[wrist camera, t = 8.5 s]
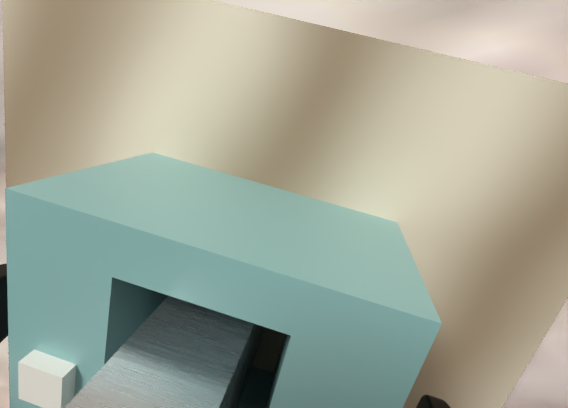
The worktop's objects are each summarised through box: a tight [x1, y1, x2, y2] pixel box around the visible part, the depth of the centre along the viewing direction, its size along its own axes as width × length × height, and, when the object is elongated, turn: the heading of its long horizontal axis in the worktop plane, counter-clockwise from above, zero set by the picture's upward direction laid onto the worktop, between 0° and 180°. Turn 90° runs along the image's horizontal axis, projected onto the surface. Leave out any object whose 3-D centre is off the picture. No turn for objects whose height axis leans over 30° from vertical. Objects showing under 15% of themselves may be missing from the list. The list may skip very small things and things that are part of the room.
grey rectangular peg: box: [65, 296, 264, 408], centre depth 7 cm, size 2×3×6 cm, turn 166°
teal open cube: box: [5, 152, 442, 408], centre depth 7 cm, size 6×6×4 cm
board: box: [2, 0, 568, 408], centre depth 10 cm, size 15×14×2 cm
